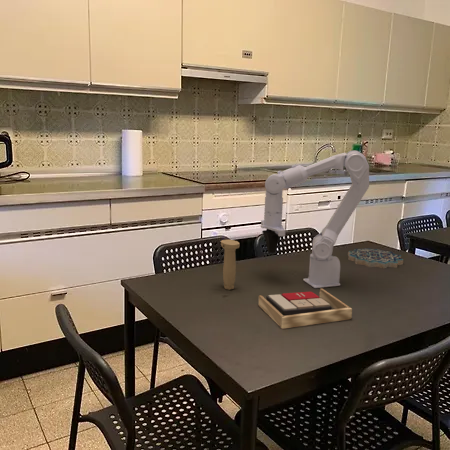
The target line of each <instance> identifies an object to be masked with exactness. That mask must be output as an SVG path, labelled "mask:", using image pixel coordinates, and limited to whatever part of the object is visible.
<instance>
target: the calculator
mask: <svg viewBox="0 0 450 450" xmlns="http://www.w3.org/2000/svg"><path fill="white" fill-rule="evenodd" d="M265 299H266V300H267V301H268V302H269V303H270V304H271V305H273V306H274V307H275V308H276V309H277V310H278V311H279V312H280V313H281V314H282V315H283V316H287V315H295V314H303V313H310V312H318V311H326V310H333V308H332V306H330V304H329V303H327V302H326V301H325V300H323V299H322V298H320V297H319V295H317V294H316V293H314V292H313V291H302V292H300V291H299V292H298V291H297V292H287V293H286V292H285V293H281V294H280V293H279V294H269V295H266V297H265Z"/></svg>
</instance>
